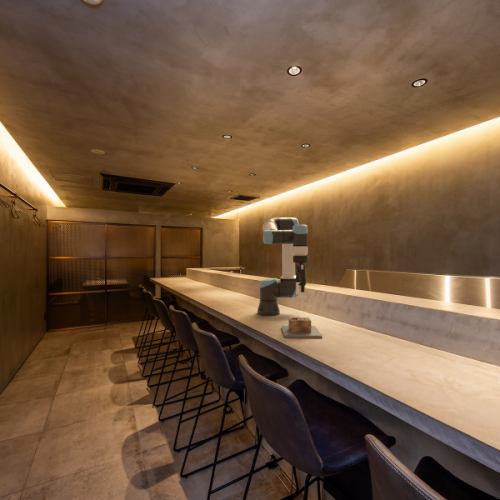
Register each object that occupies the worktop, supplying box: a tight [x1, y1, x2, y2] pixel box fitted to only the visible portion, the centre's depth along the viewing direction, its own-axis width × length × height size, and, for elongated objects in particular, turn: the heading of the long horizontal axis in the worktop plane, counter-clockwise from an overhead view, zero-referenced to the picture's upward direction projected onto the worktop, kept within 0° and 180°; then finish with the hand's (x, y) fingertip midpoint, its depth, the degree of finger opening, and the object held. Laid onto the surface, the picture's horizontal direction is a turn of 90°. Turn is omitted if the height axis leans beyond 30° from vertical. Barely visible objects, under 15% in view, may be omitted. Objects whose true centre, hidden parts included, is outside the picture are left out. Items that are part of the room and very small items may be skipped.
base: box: [281, 316, 323, 339], centre depth 148 cm, size 18×18×8 cm
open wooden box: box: [288, 316, 312, 332], centre depth 148 cm, size 10×7×6 cm
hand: (300, 296), depth 148 cm, fingers open, 13 cm apart
